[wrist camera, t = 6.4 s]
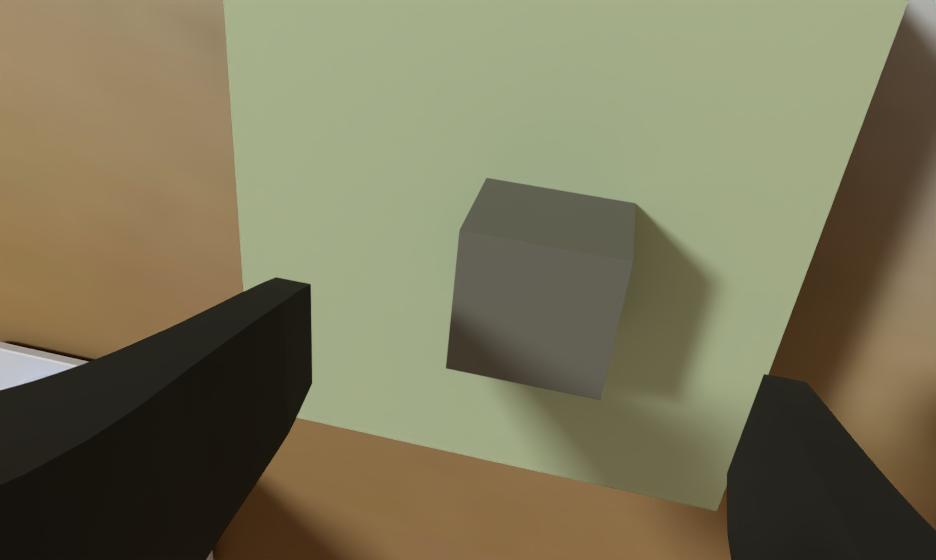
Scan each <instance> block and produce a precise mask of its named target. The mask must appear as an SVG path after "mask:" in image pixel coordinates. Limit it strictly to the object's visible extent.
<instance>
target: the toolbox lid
mask: <svg viewBox="0 0 936 560" xmlns="http://www.w3.org/2000/svg"><path fill="white" fill-rule="evenodd" d="M223 1H224V16H225V30H226V45H227V59H228V74H229V88H230V103H231V117H232V132H233V146H234V161H235V175H236V190H237V204H238V219H239V233H240V248H241V262H242V277H243V291H246V290H248V289H250V288H252V287H254V286H257V285H259V284H261V283H263V282H265V281H268V280H270V279H273V278H275V277H277V278H283V279H288V280H293V281H298V282H303V283H308V284H311V331H312V385H311V387H310V389H309V392H308V394H307V396H306V398H305V400H304V402H303V405H302V407H301V409H300V411H299V413H298V415H297V417H296V418H301V419H305V420H310V421H314V422H319V423H323V424H328V425H332V426H337V427H341V428H346V429H350V430H355V431H359V432H363V433H368V434H372V435H377V436H381V437H386V438H390V439H395V440H399V441H404V442H408V443H413V444H417V445H422V446H426V447H431V448H435V449H440V450H444V451H449V452H453V453H458V454H462V455H467V456H471V457H475V458H480V459H484V460H489V461H493V462H498V463H502V464H507V465H511V466H516V467H520V468H525V469H529V470H534V471H538V472H543V473H547V474H552V475H556V476H561V477H565V478H570V479H574V480H579V481H583V482H587V483H592V484H596V485H601V486H605V487H610V488H614V489H619V490H623V491H628V492H632V493H637V494H641V495H646V496H650V497H655V498H659V499H664V500H668V501H673V502H677V503H682V504H686V505H690V506H695V507H699V508H704V509H708V510H713V511H717V510H718V507H719V504H720V502H721V499H722V496H723V494H724V491H725V488H726V486H727V472H728V469H729V466H730V464H731V461H732V458H733V456H734V453H735V450H736V448H737V445H738V442H739V440H740V437H741V434H742V431H743V429H744V426H745V423H746V421H747V418H748V415H749V413H750V410H751V407H752V405H753V402H754V399H755V397H756V394H757V391H758V389H759V386H760V383H761V380H762V378H763V375H764V374H766V375H768V374H769V371H770V369H771V366H772V363H773V361H774V358H775V355H776V353H777V350H778V347H779V345H780V342H781V339H782V337H783V334H784V331H785V329H786V326H787V323H788V321H789V318H790V315H791V313H792V310H793V307H794V305H795V302H796V299H797V297H798V294H799V291H800V289H801V286H802V283H803V281H804V278H805V275H806V273H807V270H808V267H809V265H810V262H811V259H812V257H813V254H814V251H815V249H816V246H817V243H818V241H819V238H820V235H821V233H822V230H823V227H824V225H825V222H826V219H827V217H828V214H829V211H830V209H831V206H832V203H833V201H834V198H835V195H836V193H837V190H838V187H839V185H840V182H841V179H842V177H843V174H844V171H845V169H846V166H847V164H848V161H849V158H850V156H851V153H852V150H853V148H854V145H855V142H856V140H857V137H858V134H859V132H860V129H861V126H862V124H863V121H864V118H865V116H866V113H867V110H868V108H869V105H870V102H871V100H872V97H873V94H874V92H875V89H876V86H877V84H878V81H879V78H880V76H881V73H882V70H883V68H884V65H885V62H886V60H887V57H888V54H889V52H890V49H891V46H892V44H893V41H894V38H895V36H896V33H897V30H898V28H899V25H900V22H901V20H902V17H903V14H904V12H905V9H906V6H907V4H908V1H909V0H223Z"/></svg>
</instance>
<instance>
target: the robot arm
mask: <svg viewBox="0 0 936 560" xmlns="http://www.w3.org/2000/svg"><path fill="white" fill-rule="evenodd" d="M311 385H312V331H311V284H308V283H303V282H298V281H293V280H288V279H283V278H277V277H275V278H273V279H270V280H268V281H265V282H263V283H261V284H259V285H257V286H254V287H252V288H250V289H248V290H246V291H244V292H242V293H240V294H238V295H236V296H234V297H232V298H230V299H228V300H226V301H224V302H222V303H220V304H218V305H216V306H214V307H212V308H210V309H208V310H206V311H204V312H201V313H199V314H197V315H195V316H193V317H191V318H189V319H187V320H185V321H183V322H181V323H179V324H177V325H175V326H173V327H170V328H168V329H166V330H164V331H161V332H159V333H157V334H154V335H152V336H150V337H148V338H145V339H143V340H141V341H138V342H136V343H134V344H132V345H129V346H127V347H125V348H122V349H120V350H118V351H116V352H113V353H111V354H108V355H106V356H103V357H101V358H98V359H95V360H93V361H90V362H88V361H84V360H79V359H75V358H70V357H66V356H61V355H57V354H52V353H48V352H43V351H39V350H34V349H30V348H25V347H21V346H16V345H12V344H7V343H3V342H0V560H213V551H212V549H213V548H214V546H215V545H216V543H217V541H218V540H219V538H220V537H221V535H222V534H223V532H224V531H225V529H226V528H227V526H228V525H229V523H230V522H231V520H232V519H233V517H234V516H235V514H236V513H237V511H238V510H239V508H240V507H241V505H242V504H243V502H244V501H245V499H246V498H247V496H248V495H249V493H250V492H251V490H252V489H253V487H254V486H255V484H256V483H257V481H258V480H259V478H260V477H261V475H262V474H263V472H264V470H265V469H266V467H267V466H268V464H269V463H270V461H271V460H272V458H273V457H274V455H275V454H276V452H277V451H278V449H279V448H280V446H281V444H282V443H283V441H284V440H285V438H286V437H287V435H288V433H289V431H290V429H291V427H292V425H293V423H294V421H295V419H296V417H297V415H298V413H299V411H300V409H301V407H302V405H303V402H304V400H305V398H306V396H307V394H308V392H309V389H310V387H311ZM727 527H728V540H729V547H730V554H731V560H936V531H935V530H934V529H933V528H932V527H931V526H930V525H929V524H928V523H927V522H926V520H925V519H924V518H923V517H922V516H921V515H920V514H919V513H918V512H917V511H916V510H915V509H914V508H913V507H912V506H911V505H910V504H909V503H908V501H907V500H906V499H905V498H904V497H903V496H902V495H901V494H900V493H899V492H898V490H897V489H896V488H895V487H894V486H893V485H892V484H891V483H890V481H889V480H888V479H887V478H886V477H885V476H884V475H883V473H882V472H881V471H880V470H879V469H878V468H877V466H876V465H875V464H874V463H873V462H872V461H871V459H870V458H869V457H868V456H867V455H866V454H865V452H864V451H863V450H862V449H861V448H860V446H859V445H858V444H857V443H856V442H855V440H854V439H853V438H852V437H851V435H850V434H849V433H848V432H847V431H846V429H845V428H844V427H843V426H842V425H841V423H840V422H839V421H838V420H837V418H836V417H835V416H834V415H833V414H832V412H831V411H830V410H829V409H828V407H827V406H826V405H825V404H824V403H823V401H822V400H821V399H820V398H819V397H818V395H817V394H816V393H815V392H814V391H813V390H812V388H811V387H810V386H809V385H808V384H807V383H806V382H801V381H796V380H791V379H786V378H781V377H776V376H771V375H766V374H764V375H763V378H762V380H761V383H760V386H759V389H758V391H757V394H756V397H755V399H754V402H753V405H752V407H751V410H750V413H749V415H748V418H747V421H746V423H745V426H744V429H743V431H742V434H741V437H740V440H739V442H738V445H737V448H736V450H735V453H734V456H733V458H732V461H731V464H730V466H729V469H728V472H727Z"/></svg>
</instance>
